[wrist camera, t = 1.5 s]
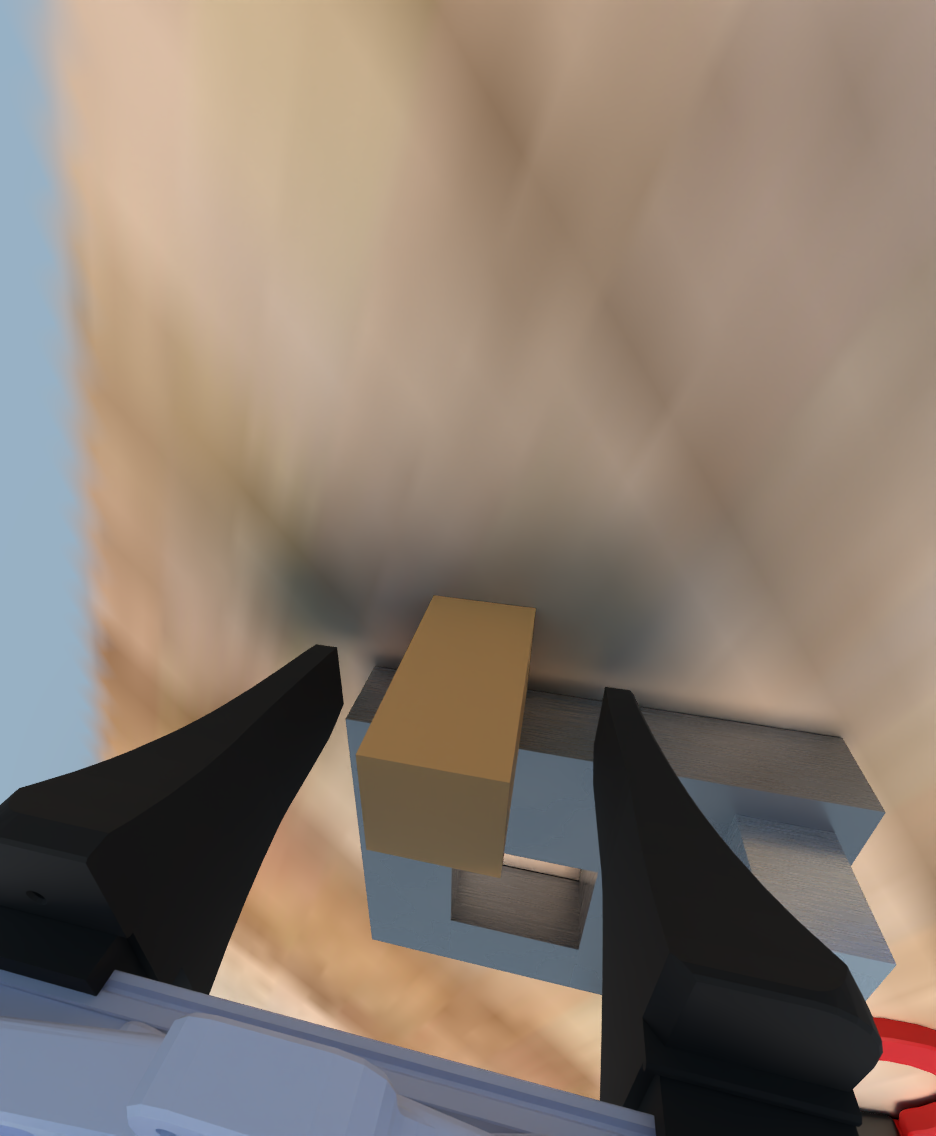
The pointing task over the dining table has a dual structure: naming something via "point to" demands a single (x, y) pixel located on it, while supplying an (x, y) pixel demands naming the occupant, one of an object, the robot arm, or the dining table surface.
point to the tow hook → (920, 1131)
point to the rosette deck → (569, 837)
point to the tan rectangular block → (449, 738)
